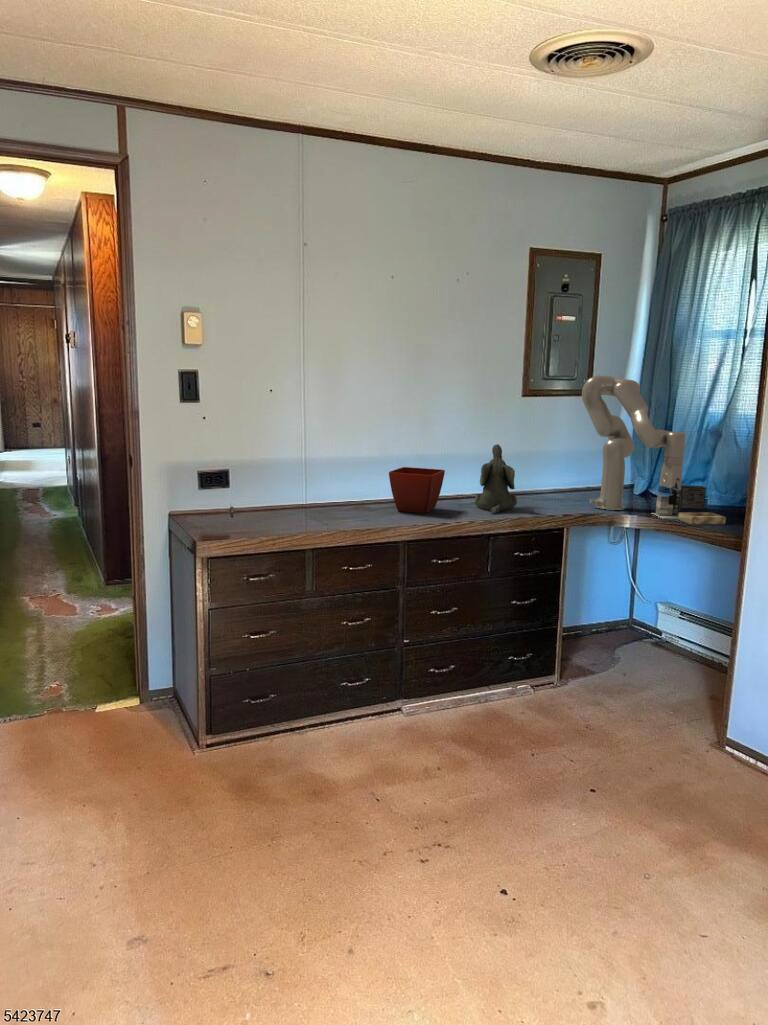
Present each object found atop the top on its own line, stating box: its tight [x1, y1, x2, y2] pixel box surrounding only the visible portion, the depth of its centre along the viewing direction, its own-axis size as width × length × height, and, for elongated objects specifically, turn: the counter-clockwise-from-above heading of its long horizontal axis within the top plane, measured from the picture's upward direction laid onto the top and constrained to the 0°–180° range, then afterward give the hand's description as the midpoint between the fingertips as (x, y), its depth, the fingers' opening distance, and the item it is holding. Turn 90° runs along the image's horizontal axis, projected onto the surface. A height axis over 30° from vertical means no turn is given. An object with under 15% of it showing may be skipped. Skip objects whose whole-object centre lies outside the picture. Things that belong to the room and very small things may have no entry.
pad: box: [650, 512, 679, 520], centre depth 325 cm, size 10×10×1 cm
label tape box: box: [655, 485, 681, 515], centre depth 324 cm, size 9×4×12 cm, turn 95°
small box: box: [678, 484, 707, 511], centre depth 346 cm, size 11×6×10 cm, turn 84°
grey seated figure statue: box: [474, 443, 518, 514], centre depth 329 cm, size 19×21×27 cm
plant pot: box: [388, 466, 446, 514], centre depth 320 cm, size 19×19×17 cm
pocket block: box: [677, 511, 727, 525], centre depth 315 cm, size 15×10×3 cm, turn 99°
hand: (668, 503), depth 324 cm, fingers open, 4 cm apart
